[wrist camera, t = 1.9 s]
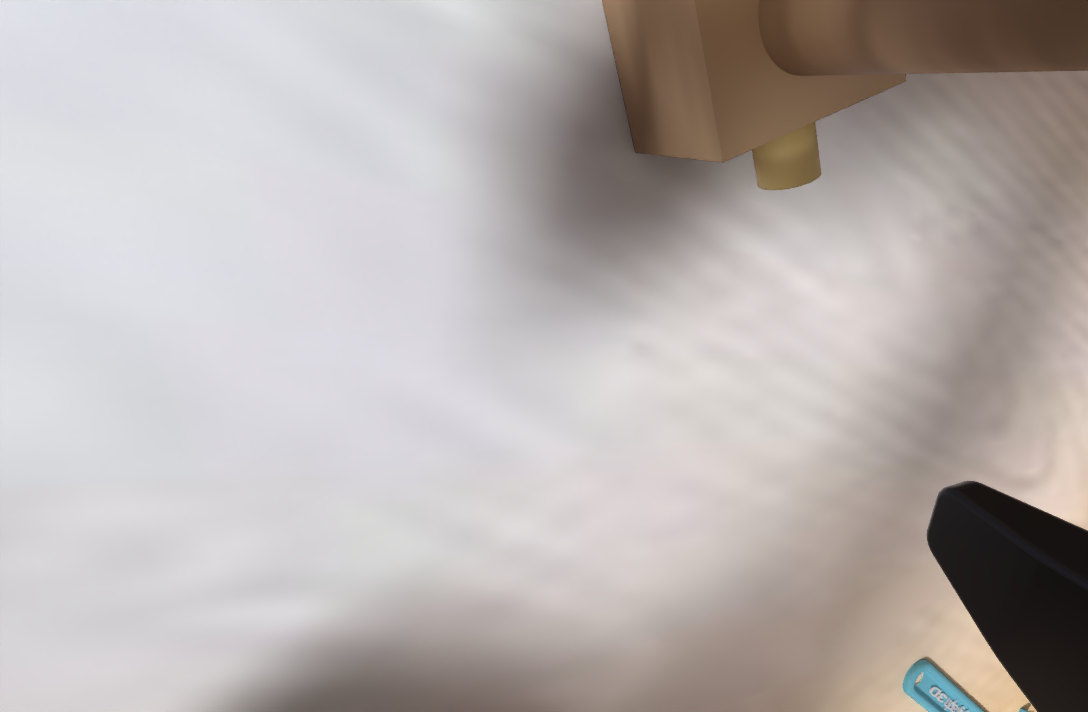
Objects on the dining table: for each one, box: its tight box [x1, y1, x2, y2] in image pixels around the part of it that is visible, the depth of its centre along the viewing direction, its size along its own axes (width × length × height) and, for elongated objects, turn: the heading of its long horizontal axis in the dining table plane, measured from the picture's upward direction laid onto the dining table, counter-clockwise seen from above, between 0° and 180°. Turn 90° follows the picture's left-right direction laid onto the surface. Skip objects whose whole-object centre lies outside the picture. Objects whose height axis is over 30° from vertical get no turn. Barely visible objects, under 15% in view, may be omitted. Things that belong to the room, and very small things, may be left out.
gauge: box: [602, 0, 1088, 190], centre depth 17 cm, size 7×6×13 cm
